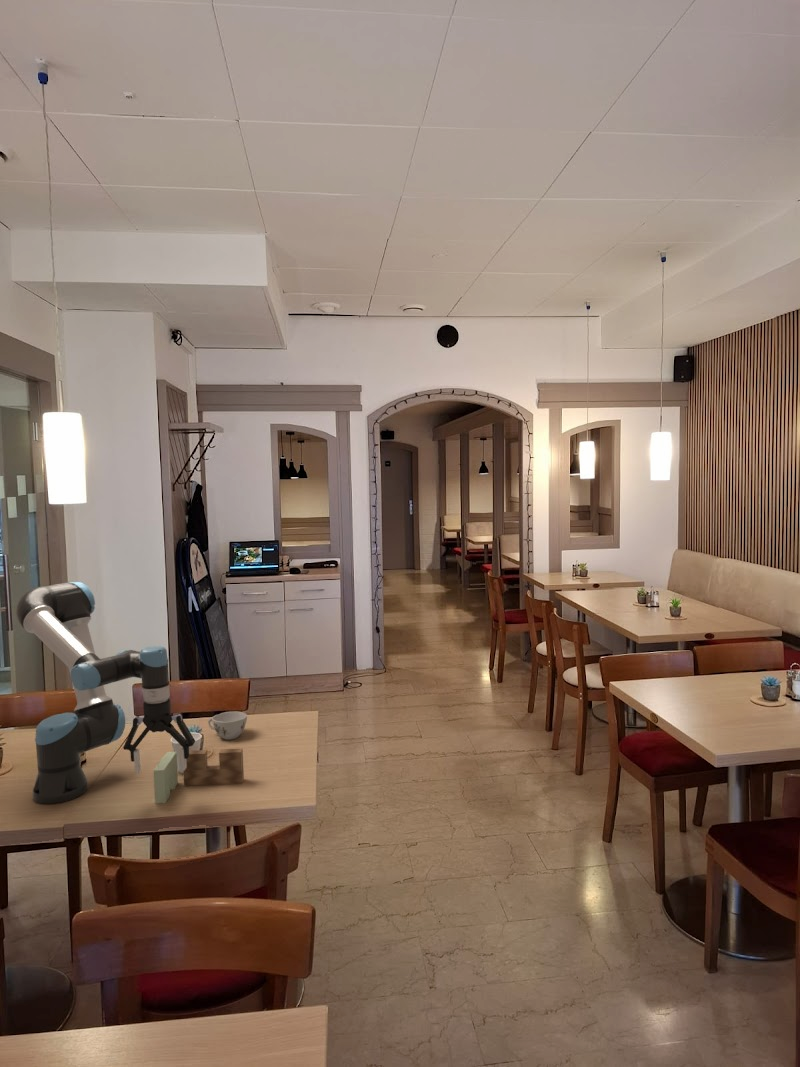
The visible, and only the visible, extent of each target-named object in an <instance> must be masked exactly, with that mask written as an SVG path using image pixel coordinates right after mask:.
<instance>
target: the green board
mask: <svg viewBox="0 0 800 1067" xmlns="http://www.w3.org/2000/svg"><path fill="white" fill-rule="evenodd" d="M178 772H179V771H178V768H177V752H174V751H166V753H165V754H164V755H163V757H162V758H161V759H160V761H159V762H158V764H157V765H156V766H155V768H154V769H153V784H154V785H153V786H154V803H155V804H166V803H167V801H168V800H169V798H170V797H171V792H170V791H171V790H175V788H176V786H177V785H178V783H179V777H178V774H179V773H178Z"/></svg>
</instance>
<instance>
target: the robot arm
mask: <svg viewBox="0 0 800 1067" xmlns="http://www.w3.org/2000/svg"><path fill="white" fill-rule="evenodd" d="M95 601H96V600H95V596H94V593H93V592H92V590H91V589H90V587H89V586H88V585H86V584H85V583H83V582H80V581H73V582H70V581H69V582H62V583H57V584H50V585H44V586H43V585H42V586H36V587H33V588H31V589H29V590H28V591H26V592H24V593H23V595H21V597H20V598H19V600H18V602H17V605H16V608H15V609H16V612H15V613H16V619H17V621H18V623H19V625H20V626H21V627H22V628H23V629H24V630H25V631H26V632H27V633H29V634H34V635H35V636H36V637H37V638H38V639H39V640H40V641H41V642H42V643H43V644H44V645H45V646H46V647H47V648H48V649H49V650H50V651H51V652H52V653H53V654H54V655H55V656H56V657H57V658H58V659H59V660H60V661H61V662H62V663H64V665H65V666H66V667H67V668H68V671H69V675H70V681H71V683H72V687H73V690H74V691H73V692H74V695H75V699H76V702H77V704H76V706H75V707H74V709H73V712H62V713H57V714H53V715H51V716H49V717H46V718H44V719H42V720H41V721H40V722H39V723H38V724H37V726H36V728H35V738H34V742H35V746H36V747H35V748H36V759H37V760H36V761H37V775H36V778H35V781H34V782H35V783H34V786H33V789H32V798H33V799H32V800H33V801H34V802H36V803H39V804H45V805H50V804H51V805H52V804H58V803H64V802H68V801H71V800H74V799H76V798H78V797H80V796H82V795H83V794H85V793H86V792H87V790H88V788H89V787H88V786H89V785H88V779H87V777H86V774H85V773H84V770H83V769H82V768H83V767H82V766H81V760H80V759H81V758H80V754H82V753H86V752H89V751H91V750H94V749H96V748H100V747H102V746H107V745H109V744H111V743H113V742H115V741H118V740H119V739H120V738H121V737H122V735H123V734H124V731H125V728H126V716H125V712H124V710H123V708H121V705H120V704H117V703H114V702H113V698H112V697H110V696H109V695H107V694H106V691H105V686H106V685H109V684H113V683H116V682H120V681H123V680H126V679H127V680H128V679H130V678H138V679H141V689H142V701H144V702H143V717H141V716H139V715H136V716H135V717H134V718H133V719H132V727H131V729H130V731H129V733H128V735H127V738H126V740H125V743H124V745H123V747H122V749H123V750H126V751H129V752H130V762H133V763H134V766H133V767H134V774H138V773H140V771H141V757H140V755H141V754H140V748H137V747H138V746H139V745H140V743H141V742H142V741H143V739H145V737H146V736H147V734H148V733H149V732H152V733H157V732H160V733H163V732H165V733H167V734H169V735H170V736H171V738H172V737H173V738H174V739H175V740H176V741H177V742H178V743H179V744H180V745H181V746H182V748H181V764H182V771H185V769H186V768H187V762H186V759H188V757H189V747H190V746H193V744H194V743H195V740H194V738H193V736H192V735H191V733H190V732H191V731H190V729H189V728H188V726H187V725H186V723H185V721H184V718H183V714H182V713H179V714H178V715H172V709H171V708H172V707H171V699H170V697H171V693H170V675H169V658H168V652H167V648H166V647H164V646H159V645H158V646H155V645H154V646H153V645H152V646H149V647H143V648H142V649H141V650H140V651H137V650H133V649H123V650H119V652H117V653H116V654H115V655H112V656H107V657H103V658H99V656H98V655H97V654H96V652H95V647H94V644H93V641H92V636H91V632H90V628H89V625H88V624H89V623H90V621H91V620H92V613H94V611H95V608H96V606H95V605H96V602H95ZM172 722H174V723H176V725H177V727H178V728H179V730H180V732H181V733H180V732H179V731H178V730H177V729H176V728H175V726H174V725H173V723H172ZM142 723H143V724H144V725H145V726H146V727H145V728H144V730H143V731H142V732H141V734H140V735H139V736H138V738H136V740H135V741H134V742H133V740H134V737H135V735H136V732H137V730H138V728H139V726H140V725H141V724H142ZM181 734H183V735H184V737H185V738H184V737H183V736H182V735H181ZM132 742H133V744H132Z"/></svg>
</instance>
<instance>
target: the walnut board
mask: <svg viewBox="0 0 800 1067" xmlns="http://www.w3.org/2000/svg"><path fill="white" fill-rule="evenodd" d="M243 752H244V751H243V748H221V749H220V750H219V752H218V761H219V762H218V765H217V764H216V765H208V750H207V749H200V750H192V751H189V757H188V759H186V762H187V768H186V769H185V771H183V773H182V775H183V786H203V785H204V786H207V785H209V786H210V785H225V784H227V785H228V784H229V785H230V784H243V782H244V779H245V777H244V775H245V774H244V773H245V772H244V753H243Z"/></svg>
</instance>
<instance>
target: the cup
mask: <svg viewBox="0 0 800 1067" xmlns="http://www.w3.org/2000/svg"><path fill="white" fill-rule="evenodd" d="M190 733H191V735H192V736H193V738H194V740H195V743H194V744H193V746H190V747H189V751H192V750H201V749H200V748H201V742H202V738H203V735H202V733H199V732H191V731H190ZM180 734H181V735H182V736H183V737H184V735H183V734H182V733H180ZM184 738H185V737H184ZM170 743H171V748H172V752H177V772H179V773H180V774H183V771H182V764H181V748H182V746H181V745H180V744H179V743H178V742H177V741H176V740H175V739H174V738H173V737H172V736H171V738H170Z"/></svg>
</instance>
